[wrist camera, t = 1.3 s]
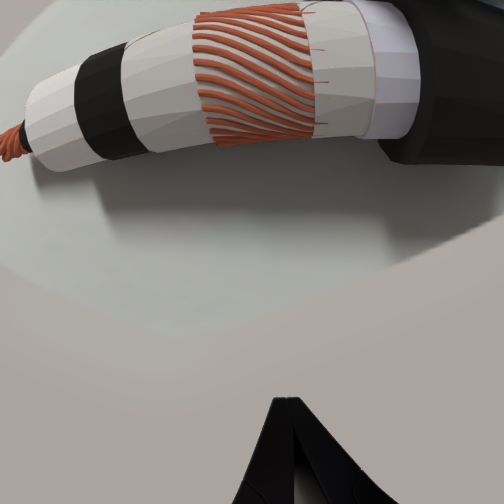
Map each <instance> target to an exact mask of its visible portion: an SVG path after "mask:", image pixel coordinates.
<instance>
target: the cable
mask: <svg viewBox="0 0 504 504" xmlns="http://www.w3.org/2000/svg"><path fill="white" fill-rule="evenodd" d="M196 18H197V19H194V21H192V22H188V23H183V24H179V25H175V26H171V27H167V28H164V29H160V30H157V31H153V32H150V33H146V34H143V35H140V36H137V37H134V38H133V39H132V40H131V41H129V42H126V43H123V44H120V45H118V46H115V47H112V48H109V49H107V50H104V51H102V52H99V53H97V54H94V55H92V56H90V57H89V58H88V59H87V60H85V61H84V62H82V63H80V64H78V65H75V66H73V67H71V68H69V69H66V70H64V71H62V72H60V73H58V74H56V75H54V76H52V77H50V78H48V79H46V80H44V81H42V82H41V83H39V84H37V85H36V86H35V88H34V89H33V91H32V92H31V93H30V96H29V99H28V101H27V104H26V107H25V120H24V121H23V123H21V124H19V125H17V126H16V127H14V128H11V129H9V130H8V131H6V132H5V133H3V134H2V135H0V156H1V155H2V160H3V161H4V162H8V161H10V160H11V159H12V158H19V157H20V156H21V155H22V154H28V153H31V152H33V153H34V155H35V157H36V158H37V159H38V160H39V161H40V162H41V163H42V164H43V165H44V166H45V167H46V168H48V169H50V170H53V171H55V172H64V171H69V170H72V169H76V168H79V167H83V166H86V165H90V164H93V163H97V162H101V161H105V160H117V159H122V158H126V157H130V156H135V155H139V154H144V153H148V152H157V153H160V152H165V151H170V150H175V149H180V148H185V147H190V146H196V145H201V144H207V143H213V142H216V146H219V147H227V146H234V145H240V144H247V143H257V142H264V141H276V140H288V139H297V138H311V139H312V138H325V137H340V136H355V137H356V138H360V139H377V140H378V142H379V145H380V147H381V148H382V149H383V151H384V152H385V153H386V155H387V156H388V157H389V159H390V160H391V161H393V162H397V163H401V164H404V165H418V164H450V165H488V166H504V10H503V9H501V8H498V7H495V6H493V5H490V4H487V3H484V2H482V1H479V0H343V1H342V2H336V1H307V2H295V3H284V4H270V5H263V6H251V7H247V8H236V9H231V10H226V11H217V12H212V13H209V12H200V15H198V16H196Z"/></svg>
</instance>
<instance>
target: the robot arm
mask: <svg viewBox="0 0 504 504" xmlns="http://www.w3.org/2000/svg"><path fill="white" fill-rule="evenodd" d="M232 504H398V503H397V502H396V501H395V500H393V499H392V498H391V497H390V496H389V495H387V494H386V493H385V492H384V491H382V489H381V488H379V487H378V486H377V485H376V484H375V483H374V482H373V481H372V480H371V479H370V478H369V477H368V475H367V474H366V473H365V472H364V471H363V470H361V468H360V467H359V466H358V465H357V463H356V462H355V461H354V460H353V459H352V458H351V457H350V456H349V455H348V453H347V452H346V451H345V450H344V449H343V448H342V446H341V445H340V444H339V443H338V442H337V441H336V440H335V438H334V437H333V436H332V435H331V434H330V433H329V432H328V430H327V429H326V428H325V427H324V426H323V425H322V423H321V422H320V421H319V420H318V419H317V418H316V416H315V415H314V414H313V413H312V412H311V410H310V409H309V408H308V407H307V406H306V404H305V403H304V402H303V401H302V400H301V399H300V398H299V397H287V398H285V397H275V398H273V400H272V403H271V406H270V408H269V411H268V414H267V417H266V420H265V422H264V425H263V428H262V431H261V433H260V436H259V439H258V441H257V444H256V447H255V449H254V452H253V455H252V457H251V460H250V462H249V465H248V468H247V470H246V472H245V475H244V478H243V480H242V482H241V484H240V487H239V489H238V492H237V494H236V496H235V498H234V500H233V502H232Z"/></svg>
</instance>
